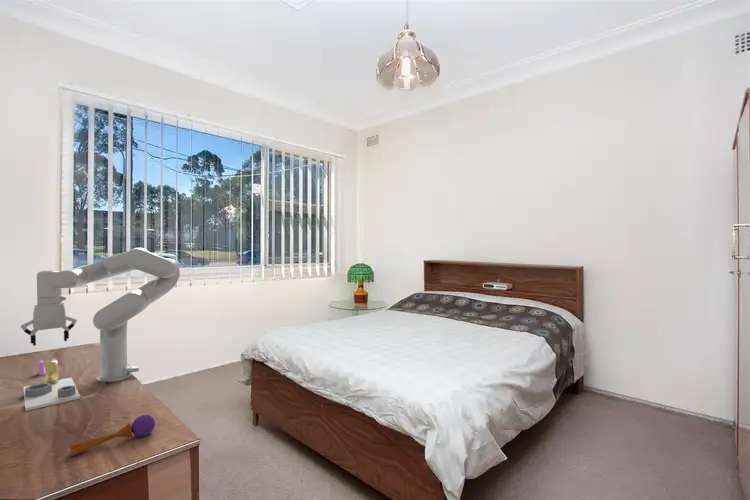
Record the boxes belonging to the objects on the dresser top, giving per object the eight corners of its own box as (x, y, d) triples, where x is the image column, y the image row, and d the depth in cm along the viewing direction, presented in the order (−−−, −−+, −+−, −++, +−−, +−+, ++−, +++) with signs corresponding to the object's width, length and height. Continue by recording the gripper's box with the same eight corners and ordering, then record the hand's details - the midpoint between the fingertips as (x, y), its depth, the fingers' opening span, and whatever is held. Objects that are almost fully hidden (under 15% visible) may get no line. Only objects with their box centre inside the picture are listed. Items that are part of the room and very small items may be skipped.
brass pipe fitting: (59, 380, 157) (59, 359, 157) (56, 384, 153) (55, 362, 153) (47, 382, 155) (47, 360, 155) (43, 385, 152) (43, 363, 151)
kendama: (69, 437, 104) (151, 410, 117) (72, 459, 104) (154, 429, 117) (69, 441, 100) (154, 413, 113) (72, 464, 99) (157, 433, 112)
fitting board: (71, 379, 161) (71, 371, 161) (80, 398, 141) (79, 389, 141) (23, 389, 150) (23, 380, 150) (25, 411, 130) (25, 401, 130)
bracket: (56, 374, 168) (55, 359, 168) (39, 377, 164) (39, 361, 164) (56, 367, 178) (56, 353, 178) (40, 370, 174) (40, 355, 174)
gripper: (75, 297, 162) (76, 337, 163) (20, 302, 150) (21, 345, 151) (77, 299, 157) (78, 340, 157) (20, 304, 145) (21, 348, 145)
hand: (50, 342), depth 154 cm, fingers open, 9 cm apart
